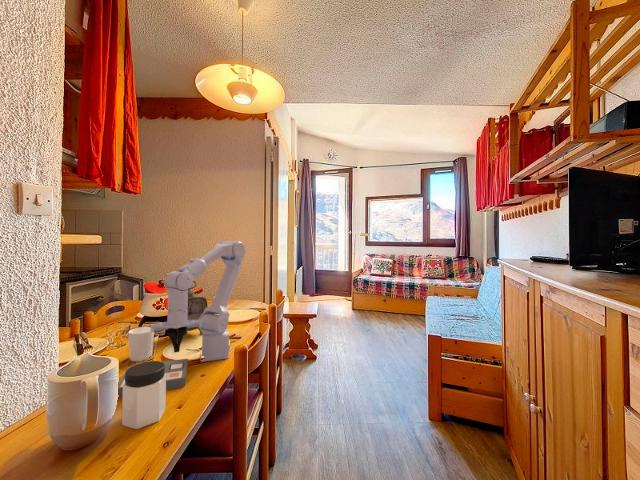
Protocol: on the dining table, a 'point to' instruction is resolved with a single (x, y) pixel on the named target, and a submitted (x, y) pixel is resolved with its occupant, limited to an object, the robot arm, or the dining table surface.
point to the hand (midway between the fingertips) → (176, 351)
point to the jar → (144, 394)
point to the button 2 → (176, 366)
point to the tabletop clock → (195, 307)
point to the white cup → (140, 343)
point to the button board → (173, 377)
